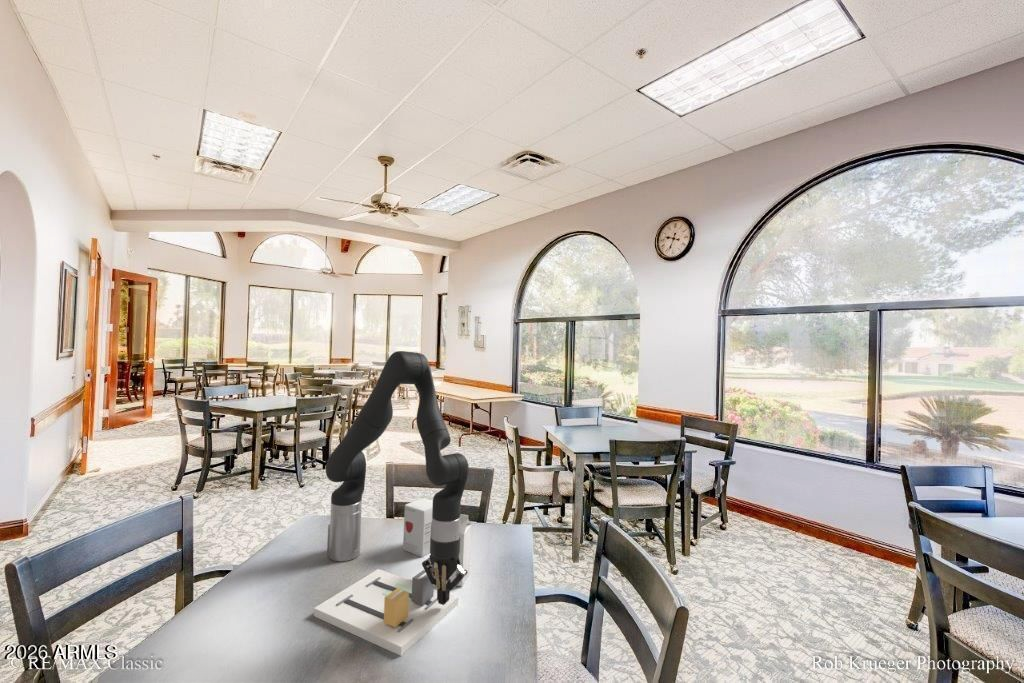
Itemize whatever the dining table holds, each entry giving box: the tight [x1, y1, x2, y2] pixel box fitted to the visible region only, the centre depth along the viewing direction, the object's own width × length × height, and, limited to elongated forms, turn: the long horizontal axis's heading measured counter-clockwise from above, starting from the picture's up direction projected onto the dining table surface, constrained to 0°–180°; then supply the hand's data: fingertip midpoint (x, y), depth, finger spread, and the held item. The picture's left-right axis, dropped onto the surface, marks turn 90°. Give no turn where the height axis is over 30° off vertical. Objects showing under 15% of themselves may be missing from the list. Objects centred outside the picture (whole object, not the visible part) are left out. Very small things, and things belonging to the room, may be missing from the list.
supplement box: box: [402, 497, 433, 558], centre depth 148 cm, size 9×9×15 cm
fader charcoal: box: [411, 569, 435, 605], centre depth 115 cm, size 4×4×6 cm
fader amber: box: [384, 588, 409, 627], centre depth 106 cm, size 4×4×6 cm
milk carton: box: [452, 513, 472, 587], centre depth 130 cm, size 7×7×19 cm
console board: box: [313, 568, 459, 657], centre depth 114 cm, size 28×22×2 cm
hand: (443, 602), depth 112 cm, fingers closed
